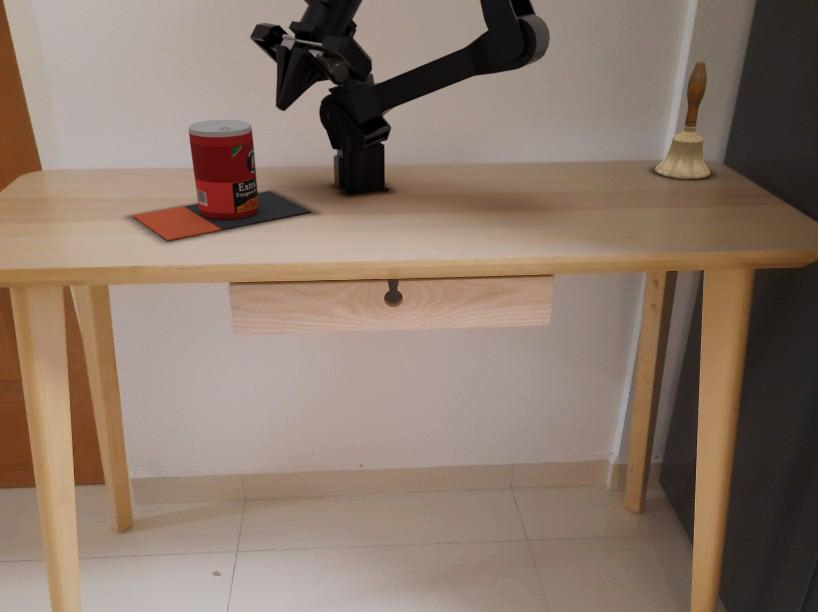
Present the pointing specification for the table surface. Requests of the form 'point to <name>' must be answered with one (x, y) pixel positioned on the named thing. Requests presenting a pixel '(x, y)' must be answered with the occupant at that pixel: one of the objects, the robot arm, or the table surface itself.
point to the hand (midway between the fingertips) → (279, 109)
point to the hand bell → (688, 136)
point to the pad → (176, 223)
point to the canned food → (224, 168)
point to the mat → (258, 211)
